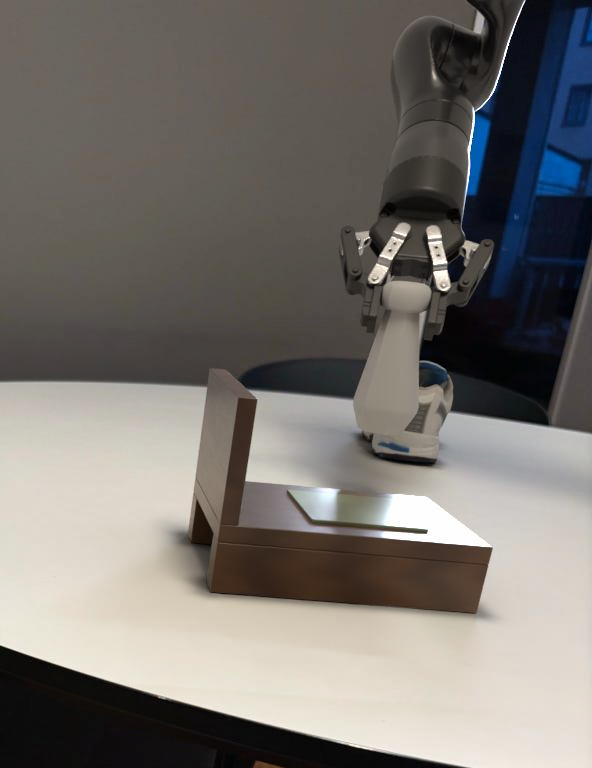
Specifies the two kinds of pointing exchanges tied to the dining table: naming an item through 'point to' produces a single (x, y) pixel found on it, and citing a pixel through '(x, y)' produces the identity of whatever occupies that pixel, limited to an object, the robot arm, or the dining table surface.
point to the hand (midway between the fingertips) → (400, 329)
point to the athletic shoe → (420, 420)
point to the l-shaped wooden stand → (321, 529)
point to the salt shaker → (393, 362)
